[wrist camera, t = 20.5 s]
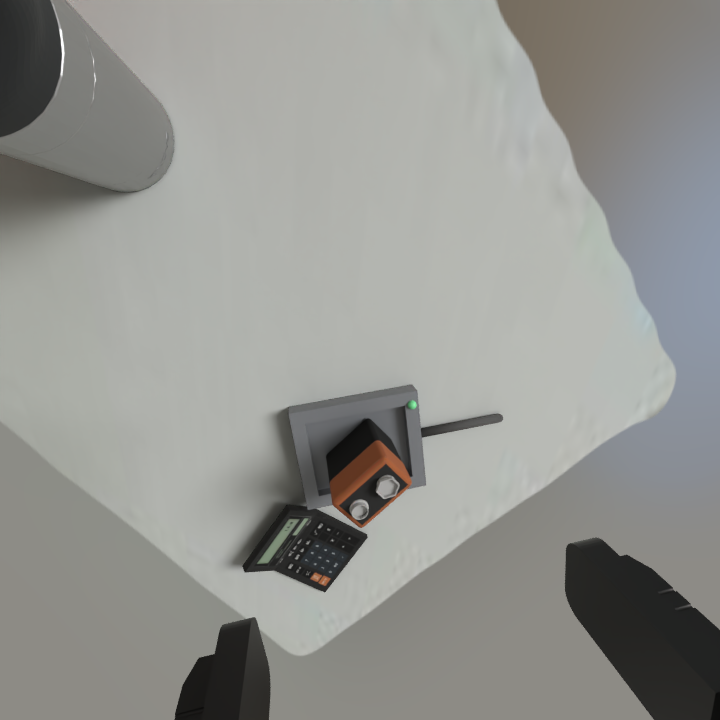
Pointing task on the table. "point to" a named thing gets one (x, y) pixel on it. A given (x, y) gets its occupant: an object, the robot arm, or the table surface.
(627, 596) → the robot arm
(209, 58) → the table surface
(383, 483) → the battery
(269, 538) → the calculator
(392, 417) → the charging cradle
